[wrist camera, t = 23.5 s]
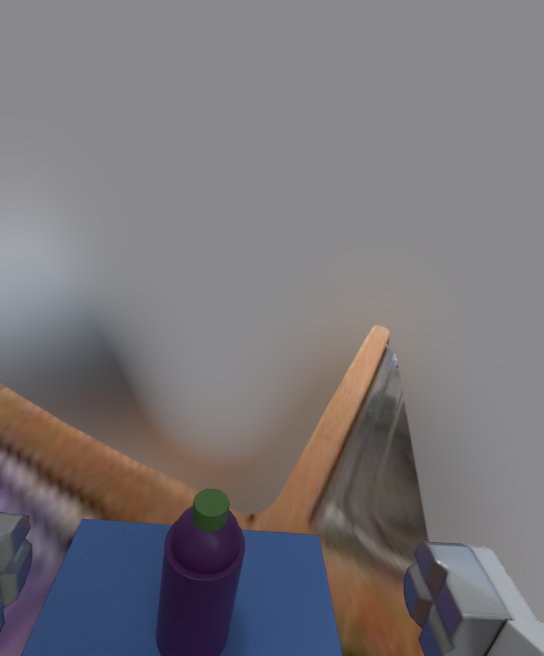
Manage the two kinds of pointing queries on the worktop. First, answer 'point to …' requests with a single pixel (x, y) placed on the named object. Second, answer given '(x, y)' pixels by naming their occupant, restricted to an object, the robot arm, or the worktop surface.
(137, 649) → the napkin
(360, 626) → the worktop surface
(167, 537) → the purple bottle
